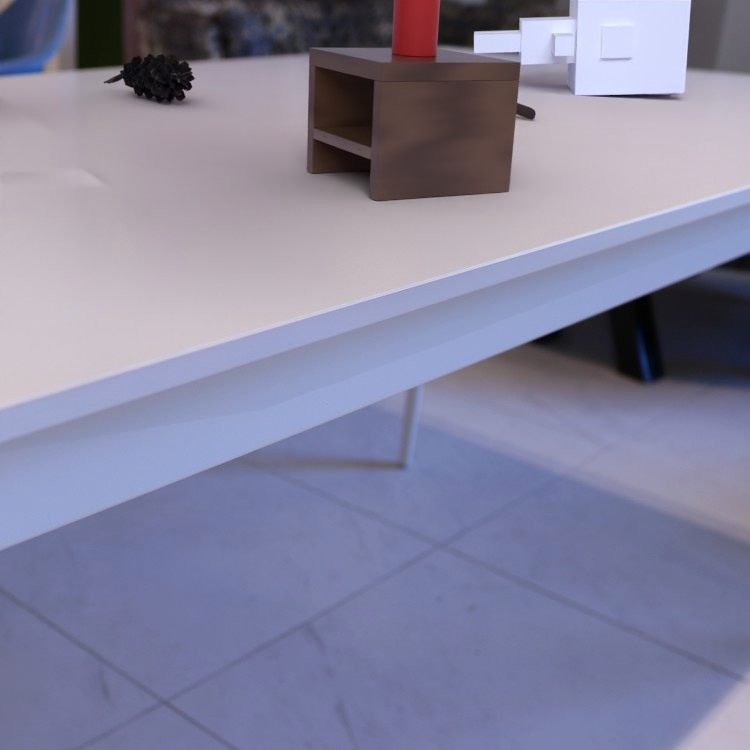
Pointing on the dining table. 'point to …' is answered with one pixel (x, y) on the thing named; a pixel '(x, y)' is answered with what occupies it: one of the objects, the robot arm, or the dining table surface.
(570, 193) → the dining table surface
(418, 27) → the bottle
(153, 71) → the pine cone
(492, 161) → the shelf
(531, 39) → the blocky voxel creature
